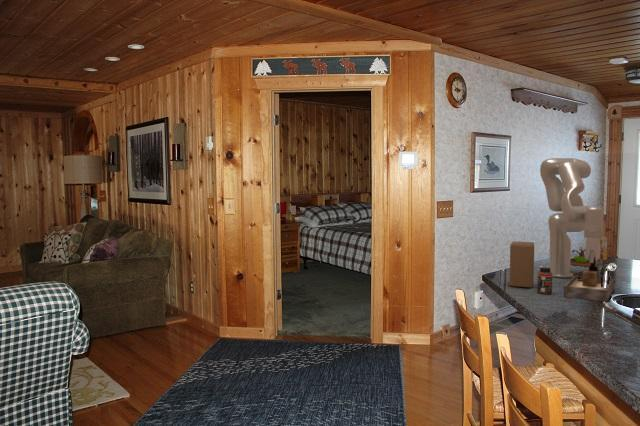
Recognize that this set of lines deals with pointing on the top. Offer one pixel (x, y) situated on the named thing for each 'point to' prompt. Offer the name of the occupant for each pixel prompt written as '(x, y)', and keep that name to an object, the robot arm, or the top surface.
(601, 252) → the candy box
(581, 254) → the plant
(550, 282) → the supplement bottle
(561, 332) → the top surface
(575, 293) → the box
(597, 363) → the top surface
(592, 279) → the walnut block
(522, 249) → the wooden block
